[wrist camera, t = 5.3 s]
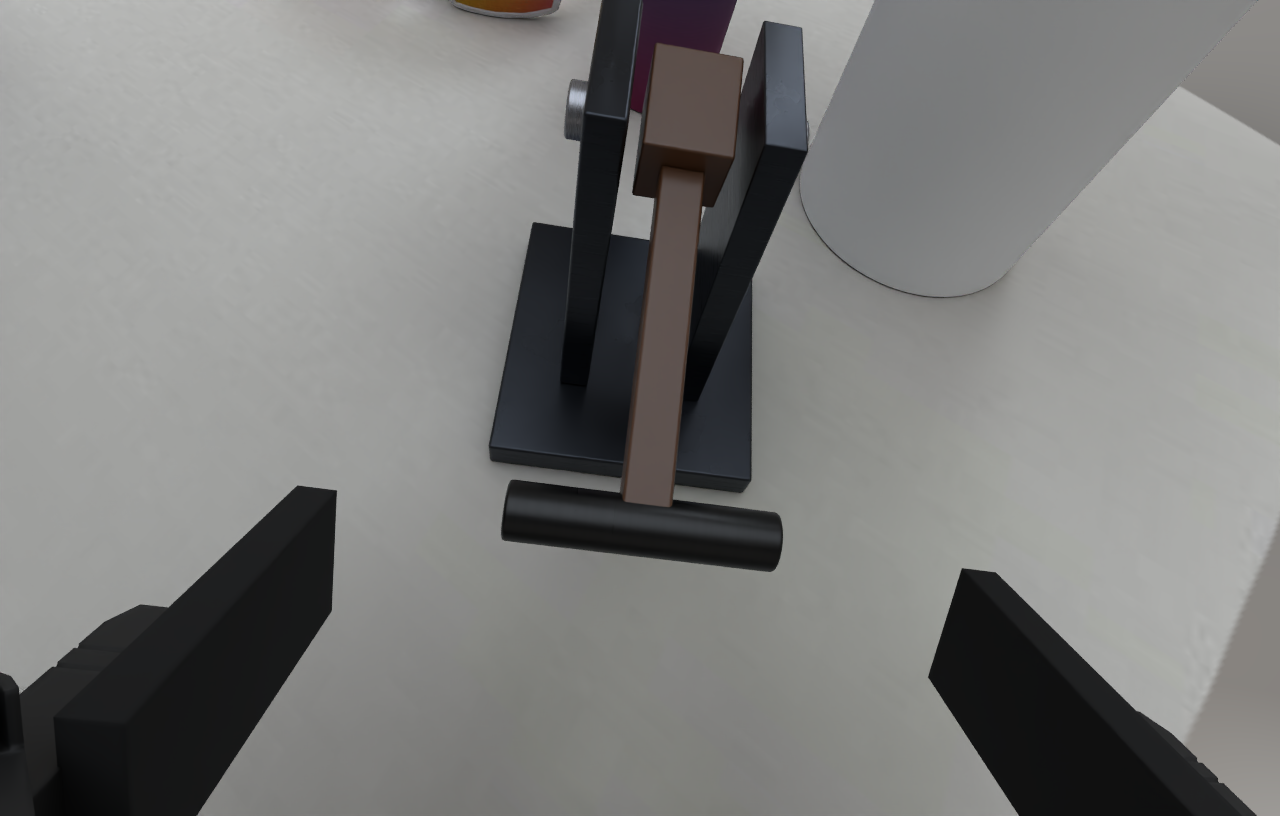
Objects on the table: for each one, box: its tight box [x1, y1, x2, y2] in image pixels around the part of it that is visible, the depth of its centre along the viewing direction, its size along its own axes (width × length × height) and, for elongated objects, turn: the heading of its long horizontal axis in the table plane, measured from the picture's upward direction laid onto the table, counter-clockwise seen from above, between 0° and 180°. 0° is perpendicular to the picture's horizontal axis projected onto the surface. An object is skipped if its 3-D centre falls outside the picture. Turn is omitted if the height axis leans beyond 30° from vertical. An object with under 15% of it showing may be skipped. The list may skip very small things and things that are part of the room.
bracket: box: [489, 0, 809, 492], centre depth 22 cm, size 10×9×13 cm
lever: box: [501, 43, 783, 572], centre depth 17 cm, size 12×6×2 cm, turn 175°
